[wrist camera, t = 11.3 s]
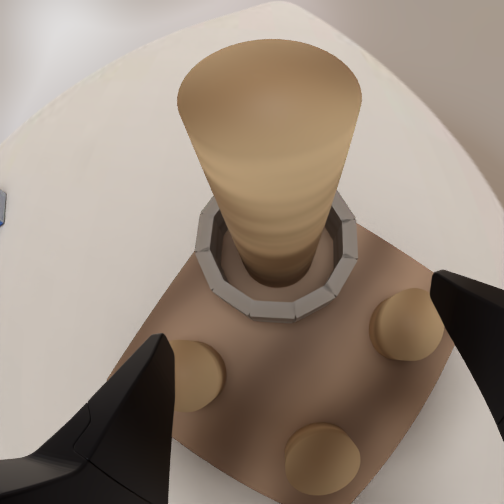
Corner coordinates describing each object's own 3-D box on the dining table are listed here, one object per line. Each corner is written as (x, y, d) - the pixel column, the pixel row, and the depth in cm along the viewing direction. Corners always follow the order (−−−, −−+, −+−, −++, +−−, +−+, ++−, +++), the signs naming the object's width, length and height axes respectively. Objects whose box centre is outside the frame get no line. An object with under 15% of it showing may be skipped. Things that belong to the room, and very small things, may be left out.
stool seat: (461, 303, 18) (497, 291, 13) (327, 514, 14) (336, 547, 10) (259, 179, 22) (253, 142, 18) (117, 378, 18) (80, 382, 14)
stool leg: (326, 265, 18) (398, 112, 6) (262, 300, 18) (222, 190, 5) (290, 209, 19) (295, 27, 7) (230, 240, 19) (156, 76, 7)
